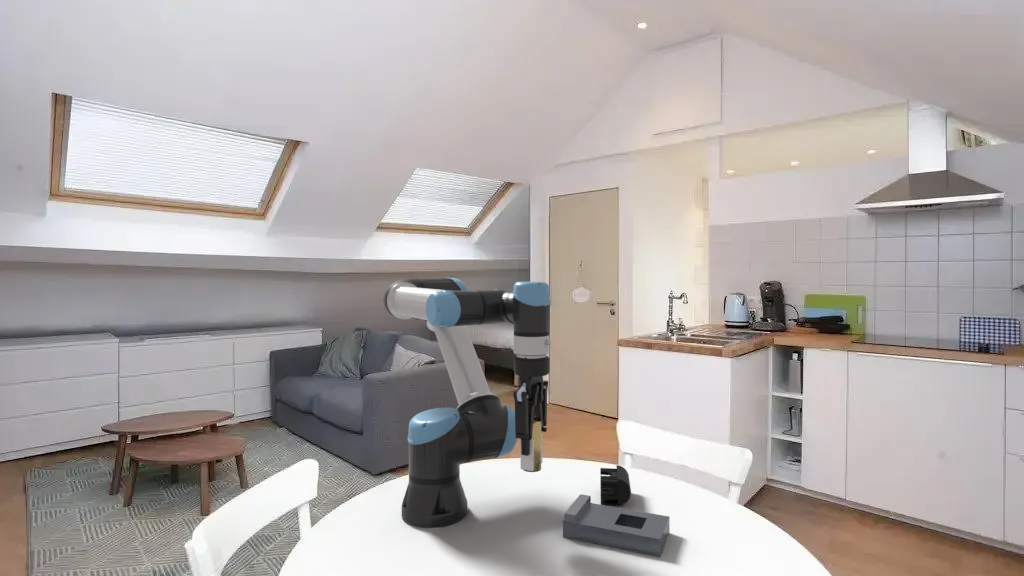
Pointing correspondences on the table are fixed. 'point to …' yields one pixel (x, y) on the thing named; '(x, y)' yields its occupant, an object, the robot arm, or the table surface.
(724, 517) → the table surface
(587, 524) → the jig
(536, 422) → the brass cylinder rod
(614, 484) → the end cap
